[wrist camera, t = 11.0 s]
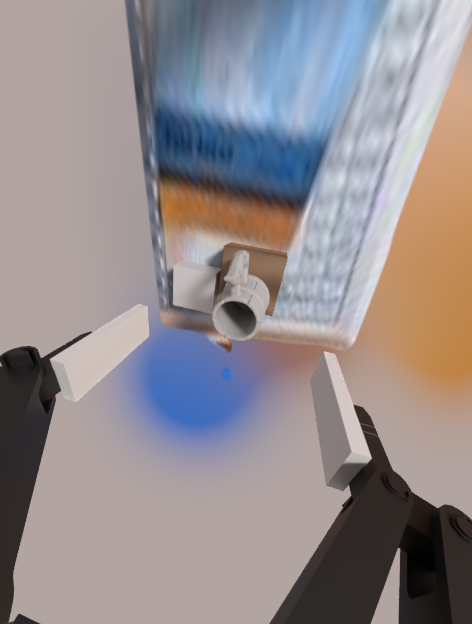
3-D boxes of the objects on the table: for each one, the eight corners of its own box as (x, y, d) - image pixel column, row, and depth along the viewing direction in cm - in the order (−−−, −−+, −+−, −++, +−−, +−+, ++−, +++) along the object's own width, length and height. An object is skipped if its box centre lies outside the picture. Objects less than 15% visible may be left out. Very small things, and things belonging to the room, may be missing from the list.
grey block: (183, 260, 40) (173, 264, 36) (222, 268, 39) (216, 273, 35) (181, 297, 43) (173, 304, 40) (217, 305, 42) (211, 314, 39)
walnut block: (231, 242, 36) (224, 246, 32) (286, 253, 35) (287, 258, 31) (224, 293, 41) (217, 303, 36) (273, 304, 40) (272, 316, 35)
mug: (226, 313, 37) (203, 352, 26) (222, 245, 32) (192, 260, 21) (269, 315, 35) (263, 358, 25) (272, 244, 30) (265, 260, 20)
